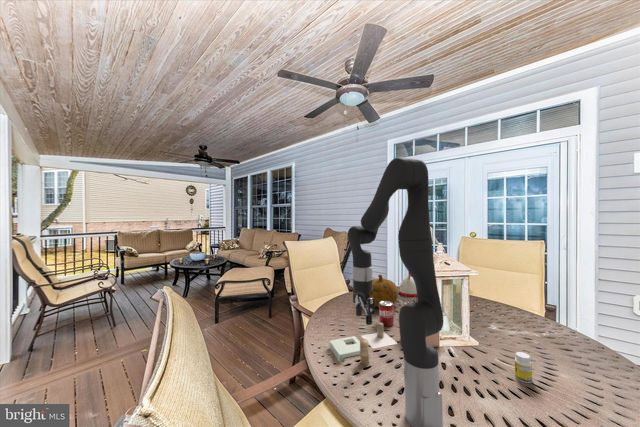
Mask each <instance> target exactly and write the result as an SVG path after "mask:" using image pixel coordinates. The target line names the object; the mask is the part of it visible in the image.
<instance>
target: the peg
mask: <svg viewBox="0 0 640 427" xmlns="http://www.w3.org/2000/svg"><path fill="white" fill-rule="evenodd" d="M359 341H360V355H359V357H360V358H359V359H360V364H361V365H362V366H368V365H369V364H370V352H369V351H370V350H369V346H370V345H369V344H368V340H367V339H363V338H361V339H359Z"/></svg>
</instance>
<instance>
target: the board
mask: <svg viewBox="0 0 640 427" xmlns="http://www.w3.org/2000/svg"><path fill="white" fill-rule="evenodd" d="M360 337H361V339H367V340H368V346H370V347H371V348H372V349H373V350H374V349H378V348H383V347H388V346H393V345H398V342H397V341H396V340H395V339H393V338H392V337H391V336H390V335H388V334H387V333H386V332H385V330H384V326H383V323H381V322H379V321H378V322H377V323H376V332H374V333H368V334H363V335H360Z"/></svg>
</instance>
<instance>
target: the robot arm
mask: <svg viewBox="0 0 640 427" xmlns="http://www.w3.org/2000/svg"><path fill="white" fill-rule="evenodd" d="M429 184H430V183H429V171H428V166H427V164H426V162H424V161H423V160H422V159H420V158H415V157H414V158H411V157H395V158H393V159H392V160H390V162H389V163H388V164H387V166H386V168H385V170H384V172H383V174H382V177H381V179H380V181H379V184H378V186H377V189H376V192H375V194H374V196H373V199H372V201H371V203H370V204H369V206H368V208H367V209H366V210H365V212H364V214H363V215H362V217H361V219H360V225H354V226H351V227H350V228H349V229H348V231H347V242H348V244H349V248H350V251H351V256H352V302H353V304H354V306H355V315H356V316H357V317H360V316H361V317H362V315H363V310H364V312H365V325H366V326H371V325H373V316H374V315H376V307H375V299H374V298H370V294H369V293H370V292H371V291H372V290H373V279H374V278H373V277H374V276H373V268H372V252H371V250H370V251H369V250H367V249H363V248H362V247H361V245H369V244H371V243H372V242H374V241H375V240H376V237H377V235H378V231H379V228H380V227H381V226H382V224H383V223H384V221H385V220H386V219H387V217H388V215H389V213H390V212H389V210H390V206H389V205H390V199H391V197H392V196H393V195H394V194H395V193H396V192H397V191H398V190H406V193H407V209H406V212H405V215H404V217H403V219H402V222H401V223H400V224H401V225H400V227H399V230H398V234H397V236H398V237H397V238H398V251H399V257H400V259H401V261H402V263H403V266H404V267H405V268H406V270H407V271H408V274H409V273H410V277H412V278H413V280H414V282H415V285H416V290H417V296H416V302H412V303H408V304H404V305H402V307H401V308H400V309H399V314H398V327H399V328H398V329H399V339H400V347H401V349H402V352H403V374H404V375H403V376H404V404H405V405H404V406H405V407H404V408H405V419H406V422H407V423H408V424H409V425H410V426H411V427H444V424H443V420H444V419H443V395H442V393H441V392H440V372H439V370H440V369H439V368H440V367H439V353H438V351H437V348H435V347H432V346H430V345H428V344H426V337H427V336H430V335H433V334H436V333H438V332H439V333H440V331H442V329H443V327H444V314H443V313H444V312H443V307H442V303H441V298H440V294H439V290H438V289H439V287H438V283H437V277H436V275H437V274H436V269H435V261H434V248H433V238H432V230H431V220H430V218H431V217H430V208H429V207H430V206H429Z"/></svg>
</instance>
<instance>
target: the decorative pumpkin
mask: <svg viewBox="0 0 640 427" xmlns="http://www.w3.org/2000/svg"><path fill="white" fill-rule="evenodd" d="M377 277H378V279H377V278H376V279H375V278H373V290H372V291H371V292H370V293H369V294H370V298H374V299H375V308H377V307H378V308H379V303H380V302H381V301H389V302H392V303H393V306H394V305H395V304H396V302H397V300H398V298H399V289H398V286H397V285H396V283H395V282H394V281H392V280H391V279H386V278H384V277H383V274H378V276H377Z"/></svg>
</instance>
